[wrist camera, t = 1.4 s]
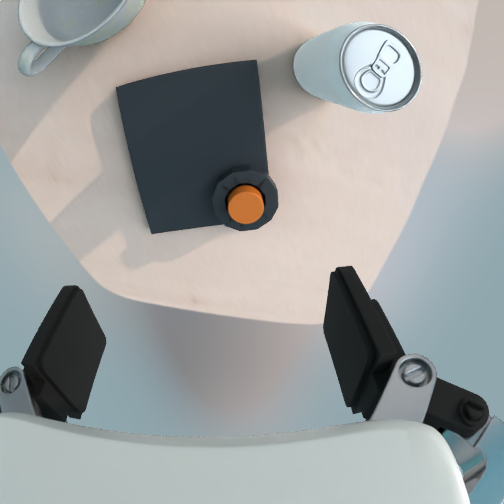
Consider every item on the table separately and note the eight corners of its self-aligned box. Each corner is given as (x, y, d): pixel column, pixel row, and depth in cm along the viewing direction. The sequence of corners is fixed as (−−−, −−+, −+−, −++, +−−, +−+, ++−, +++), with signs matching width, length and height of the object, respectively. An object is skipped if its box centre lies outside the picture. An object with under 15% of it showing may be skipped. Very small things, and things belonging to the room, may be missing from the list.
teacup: (123, -57, 13) (92, -85, 7) (183, -4, 18) (165, -30, 12) (28, 36, 17) (-19, 38, 11) (78, 93, 23) (33, 104, 16)
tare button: (226, 187, 27) (225, 194, 25) (260, 182, 27) (262, 189, 25) (230, 217, 29) (230, 226, 27) (263, 213, 29) (265, 222, 27)
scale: (120, 86, 23) (108, 88, 20) (261, 60, 23) (265, 58, 20) (154, 229, 32) (147, 243, 29) (276, 213, 32) (279, 226, 29)
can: (278, 74, 24) (310, 74, 14) (315, 24, 21) (368, -3, 11) (334, 112, 26) (393, 139, 16) (368, 64, 23) (442, 68, 13)
